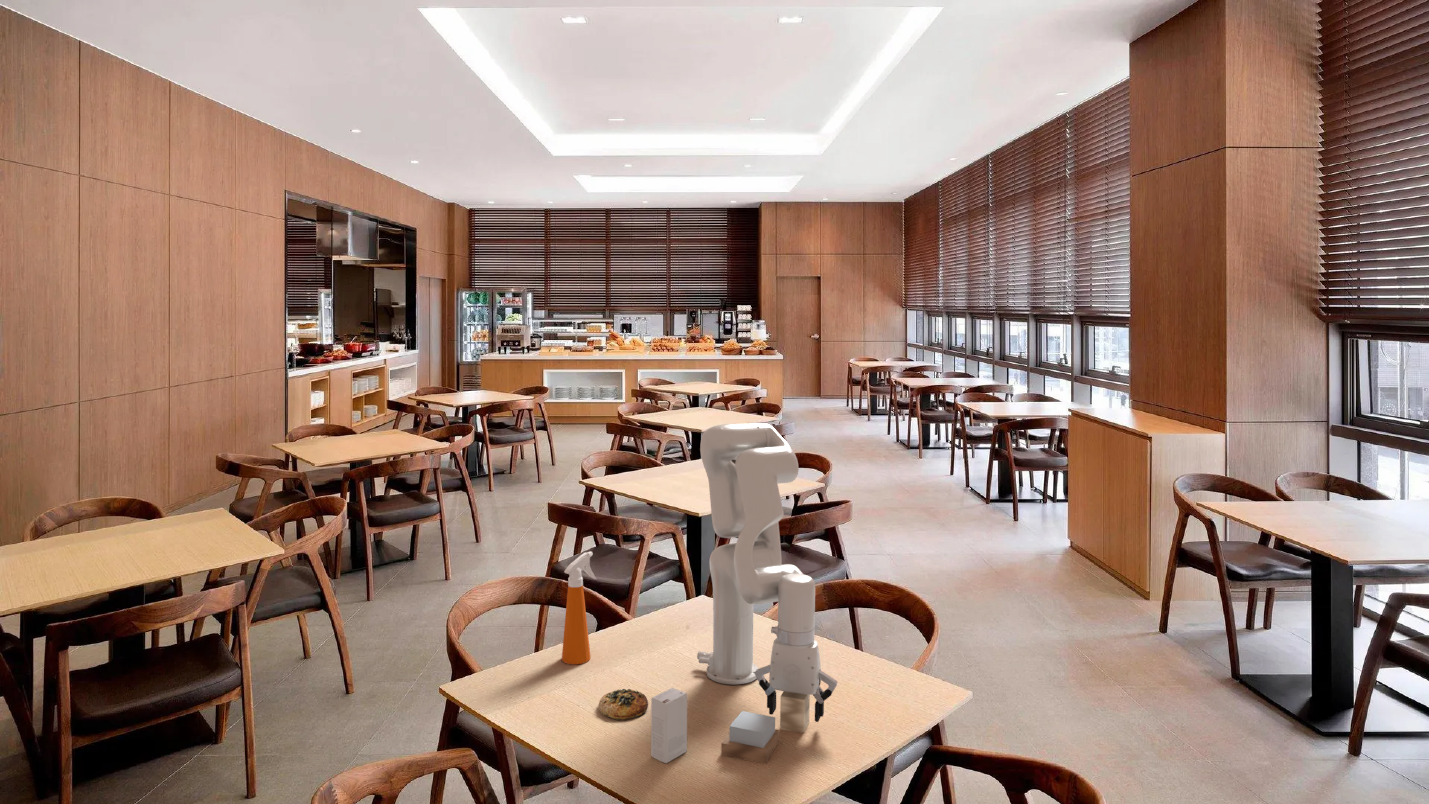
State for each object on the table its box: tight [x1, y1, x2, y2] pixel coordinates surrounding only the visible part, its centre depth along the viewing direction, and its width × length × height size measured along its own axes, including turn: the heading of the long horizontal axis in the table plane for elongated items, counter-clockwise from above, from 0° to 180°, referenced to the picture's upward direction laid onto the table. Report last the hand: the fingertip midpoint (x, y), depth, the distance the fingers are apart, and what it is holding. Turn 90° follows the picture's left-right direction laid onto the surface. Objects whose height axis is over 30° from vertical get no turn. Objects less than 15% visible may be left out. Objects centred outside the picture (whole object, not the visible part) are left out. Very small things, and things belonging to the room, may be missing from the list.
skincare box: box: [650, 687, 688, 764], centre depth 157 cm, size 6×4×12 cm
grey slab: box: [728, 710, 776, 748], centre depth 160 cm, size 7×7×3 cm
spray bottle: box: [561, 551, 598, 666], centre depth 204 cm, size 7×11×26 cm, turn 144°
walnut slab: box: [720, 728, 780, 765], centre depth 160 cm, size 9×9×3 cm
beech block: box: [779, 691, 811, 734], centre depth 169 cm, size 5×5×7 cm
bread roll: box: [597, 688, 649, 721], centre depth 177 cm, size 11×11×5 cm
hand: (795, 715), depth 169 cm, fingers open, 9 cm apart
